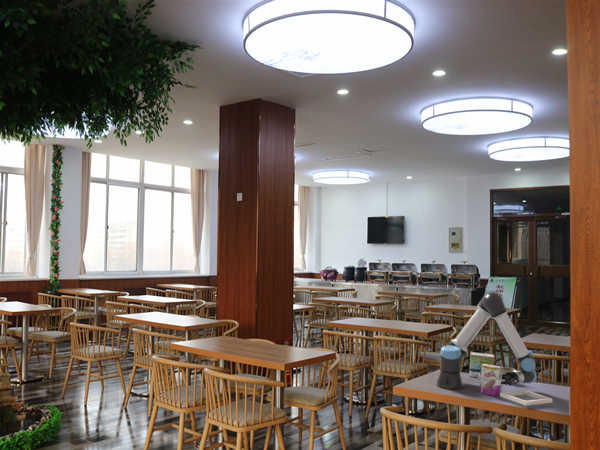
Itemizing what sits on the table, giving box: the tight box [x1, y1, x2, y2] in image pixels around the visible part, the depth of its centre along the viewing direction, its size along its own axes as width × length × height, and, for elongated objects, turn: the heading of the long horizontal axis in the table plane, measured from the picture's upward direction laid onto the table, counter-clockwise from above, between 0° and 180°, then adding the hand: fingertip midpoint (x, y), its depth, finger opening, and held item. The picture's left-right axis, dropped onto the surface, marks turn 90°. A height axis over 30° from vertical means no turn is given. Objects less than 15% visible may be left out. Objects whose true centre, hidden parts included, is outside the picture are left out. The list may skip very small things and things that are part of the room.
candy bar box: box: [479, 364, 503, 398], centre depth 309 cm, size 11×5×16 cm, turn 56°
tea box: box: [469, 351, 495, 378], centre depth 354 cm, size 15×10×15 cm, turn 73°
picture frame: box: [499, 389, 553, 409], centre depth 296 cm, size 18×20×4 cm
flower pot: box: [501, 366, 516, 374], centre depth 340 cm, size 9×9×9 cm
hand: (487, 379), depth 308 cm, fingers open, 13 cm apart
